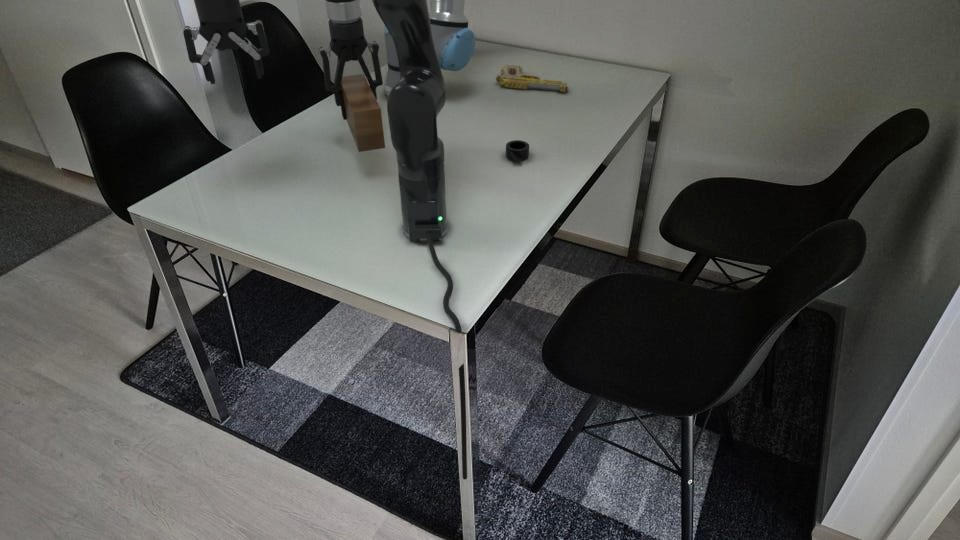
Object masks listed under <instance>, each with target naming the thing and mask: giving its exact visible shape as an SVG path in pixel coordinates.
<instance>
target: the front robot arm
mask: <svg viewBox="0 0 960 540" xmlns="http://www.w3.org/2000/svg"><path fill="white" fill-rule="evenodd" d="M371 1H372V4H373V7H374V8H375V11H376V12H377V15H378V16H379V18H380V19H381V21H382V23H383V25H384V24H385V26H386V28H387V29H388V31H389V33H390V34H391V36H392V39H393V41H394V44H395V47H396V51H397V56H398V62H399V68H400V80H399V81H398V82H397V84H396V85H395V86H394V87H393V88H392V89H391V91H390V93H389V95H388V98H387V101H386V109H387V111H386V112H387V120H388V127H389V133H390V141H391V145H392V147H393V149H394V151H395V153H396V154H395V155H396V163H397V176H398V185H399V197H400V208H401V218H402V219H401V220H402V233H403V234H404V236H405V237H406V238H407V239H408V240H409V242H410V243H427V245H428V249H429V252H430V256H431V258H432V260H433V263H434V266H436V268H437V270H439V271H440V273H441V274H442V275H443V276H444V277H445V279H446V282H447V287H446V290H445V293H444V296H443V300H442V304H443V310H444V312H445V314H447V315H448V317H449V318H450V319H451V321H452V323H453V325H454V328H455V332H456V333H457V334H461V333H462V330H463V329H462V326H461V322H460V320H459V318H458V316H457V315H456V314H455V312H453V310H452V309H451V308H450V305H449V300H450V297H451V294H452V291H453V288H454V283H453V277H452V276H451V274H450V273H449V272H448V271H447V269H445V267H444V266H443V265H442V263H441V262H440V260H439V258H438V255H437V252H436V249H435V245H434V242H435V243H436V242H440V241H441V239H443V237H444V236H446V234H447V232H448V229H449V227H448V225H449V224H448V214H447V190H446V188H447V187H446V166H445V165H446V164H445V163H446V162H445V144H444V142H443V140H442V139H441V138H440V137H439V136H438V123H437V121H438V120H437V118H438V115H439V114H440V113H441V111H442V110H443V108H444V107H445V104H446V101H447V88H446V82H445V79H444V76H443V72H442V69H441V68H440V65H439V61H438V58H437V54H436V50H435V46H434V42H433V38H432V32H431V24H430V18H429V12H430V10H429V6H428V0H371ZM193 2H194V6H195V9H196V14H197V18H198V21H199V27H191V26H190V25H185V26H184V28H183V32H182V33H183V37H184V43H185V47H186V52H187V57H188V60H189V62H190V63H191V64H199V65H201V67H202V72H203V74H204V78H205V80H206V82H210V85H215V84H216V77H215V74H214V71H213V66H212V63H211V61H210V59H211V58H212V56H213V54H214V52H215V50H218V51H220V52H221V51H222V52H223V51H226V50H238V49H239V48H241V49H242V50H243V51H244V52H246V53H247V54H249V55H250V56H251V57H252V59H253V65H254V69H255V73H256V77H257V78H256V79H257V80H262V76H264V75H265V69H264V65H263V64H264V63H263V59H262V58H264V57H267V56H269V55H270V46H269V43H268V39H267V35H266V31H265V28H264V25H263V21H262V20H261V19H256V20H255V21H253V22H252V21H251V22H246V21H245V18H244V15H243V11H242V10H243V9H242V6H241V2H240V0H193ZM249 31H251V32H252V34H253V35H255V36H257V37H258V40H259V44H260V48H257V47H256V46H255V45H254V44H252V42H251V41H250V39H248V38H247V37H246V36H247V35H248V32H249ZM199 35H200V36H201V37H202V38H203V39H204V40H205V41H206V42H207V43H206V45H205V48H204V49H203V51H202V54H200V53H197V50H196V45H195V41H196V40H197V39H198V36H199ZM465 375H466V374H465V363H464V362H463V363H462V364H461V365H460V366H459V367H458V381H459V399H460V403H459V404H460V430H461V432H460V434H461V437H460V438H461V439H460V440H461V472H462V474H461V475H462V479H463V480H467V479H468V451H467V450H468V449H467V448H468V447H467V446H468V445H467V401H466V379H465V378H466V377H465Z"/></svg>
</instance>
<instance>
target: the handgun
mask: <svg viewBox="0 0 960 540" xmlns="http://www.w3.org/2000/svg"><path fill="white" fill-rule="evenodd" d="M500 73H501V74H497V76H496V77H495V80H496V83H498V84H499V85H501V86H503V87H505V88H513V89H520V90H521V89H522V90H528V89H534V90H541V91H542V90H544V91H555V92H559V93H563V94H565V93H566V92H568V91H569V86H568V83H566V82H563V81H562V80H551V79H542V78H541V77H540V76H537V75H530V74H525V73H523V66H522V65H521V66H520V65H516V64H504V65H503V66H501V69H500Z"/></svg>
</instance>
